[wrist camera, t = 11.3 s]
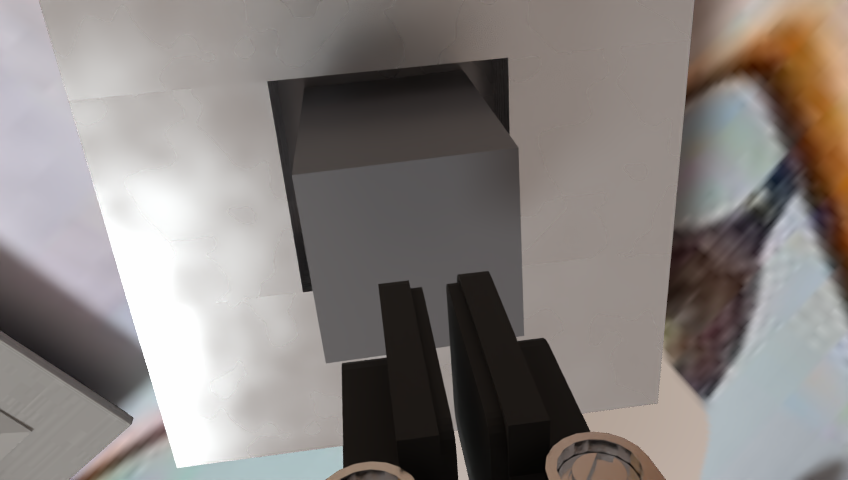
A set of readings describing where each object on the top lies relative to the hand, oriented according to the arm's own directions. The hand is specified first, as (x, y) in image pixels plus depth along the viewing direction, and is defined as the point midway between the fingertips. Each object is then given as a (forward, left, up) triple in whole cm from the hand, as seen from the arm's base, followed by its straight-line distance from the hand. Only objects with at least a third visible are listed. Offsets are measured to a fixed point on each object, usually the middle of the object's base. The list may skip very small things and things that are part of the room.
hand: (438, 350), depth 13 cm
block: (0, 0, -10) cm, 10 cm away
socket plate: (0, 0, -11) cm, 11 cm away
